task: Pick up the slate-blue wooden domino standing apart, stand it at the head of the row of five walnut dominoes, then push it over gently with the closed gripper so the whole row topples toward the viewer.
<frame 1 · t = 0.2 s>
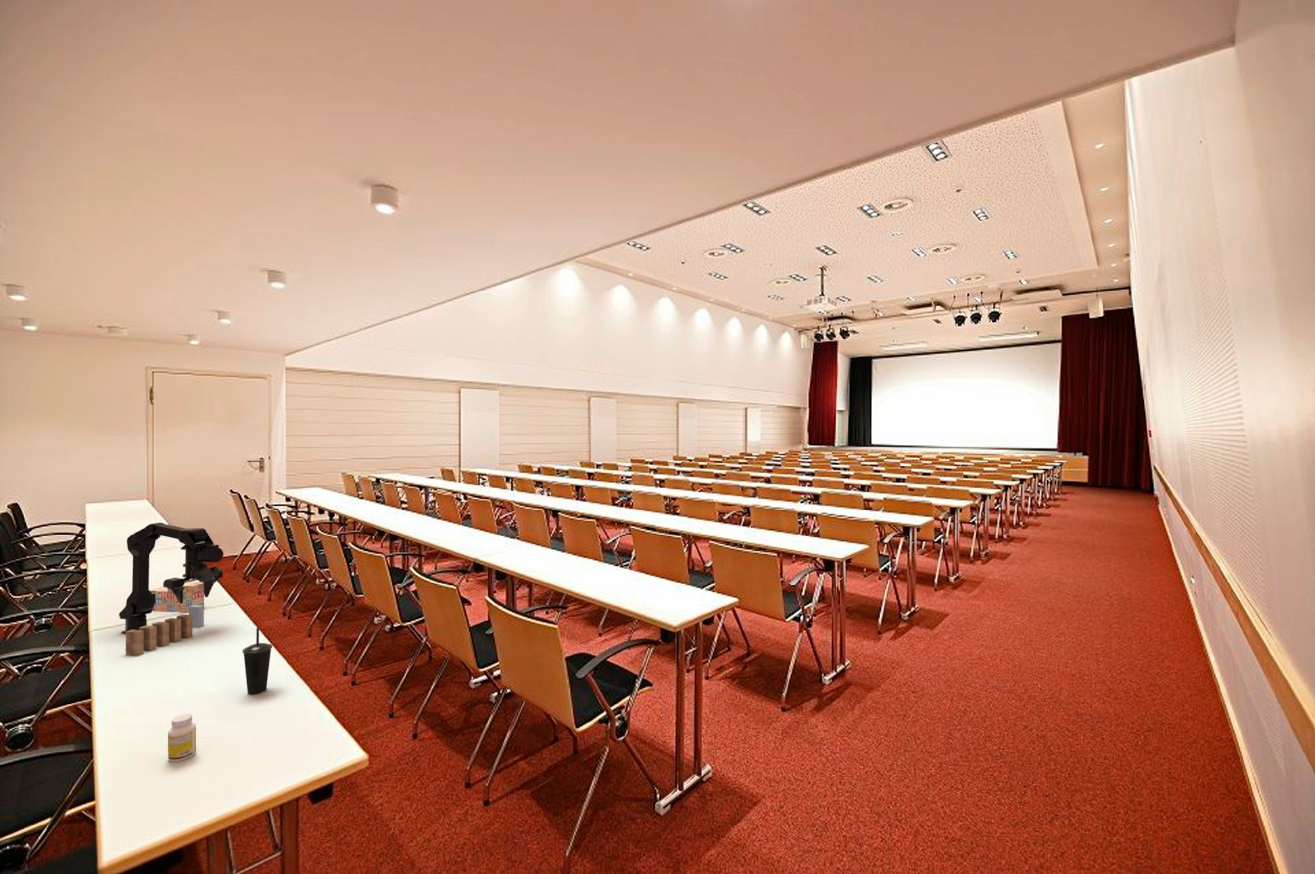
hand: (194, 600, 226), 14 cm above the table, fingers open, 9 cm apart
drinking cup: (257, 692, 179), on the table
domino 1: (184, 637, 224), on the table
supplement bottle: (182, 757, 143), on the table
domino 3: (160, 645, 215), on the table
domino 2: (172, 641, 220), on the table
domino 4: (147, 650, 211), on the table
domino 5: (134, 654, 207), on the table
stack of blocks: (176, 610, 258), on the table
slate domino: (196, 626, 236), on the table
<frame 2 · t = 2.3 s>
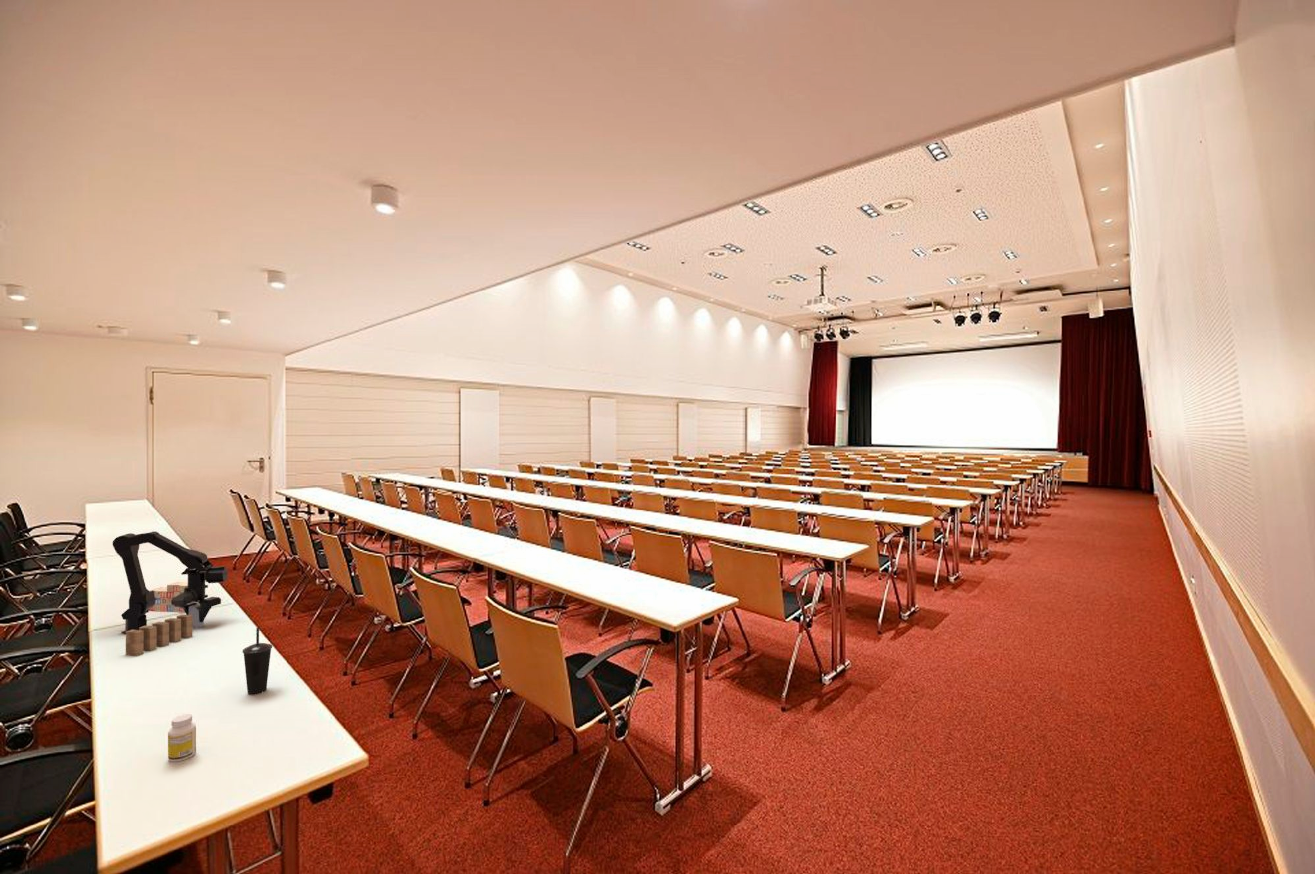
hand: (196, 621, 236), 2 cm above the table, fingers closed on slate domino, 5 cm apart
slate domino: (196, 626, 236), on the table, touching gripper
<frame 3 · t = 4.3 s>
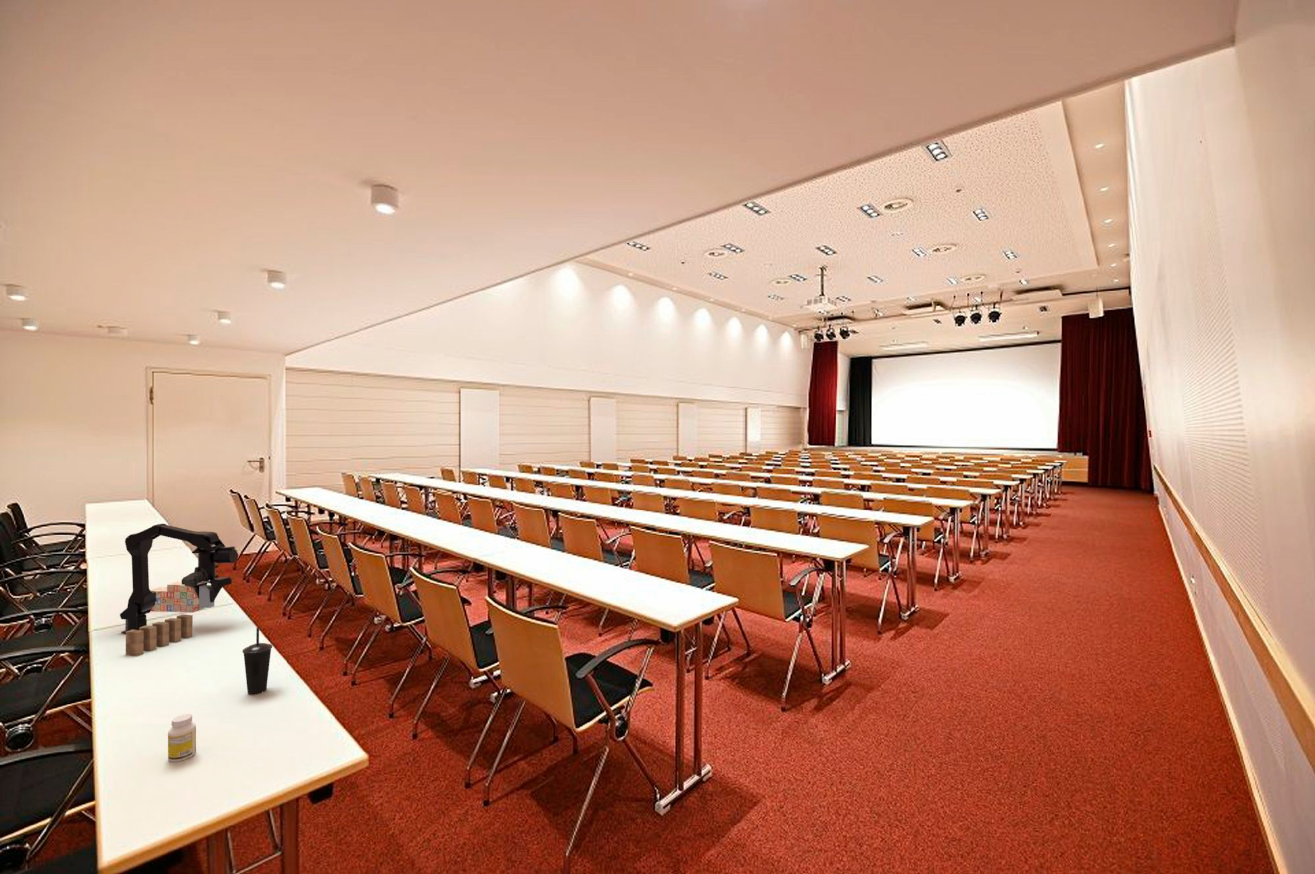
hand: (206, 601, 233), 11 cm above the table, fingers closed on slate domino, 5 cm apart
slate domino: (206, 606, 233), point 9 cm above the table, touching gripper
when the fingers open (2 cm above the table, at t = 6.2 s): slate domino stays where it is, on the table.
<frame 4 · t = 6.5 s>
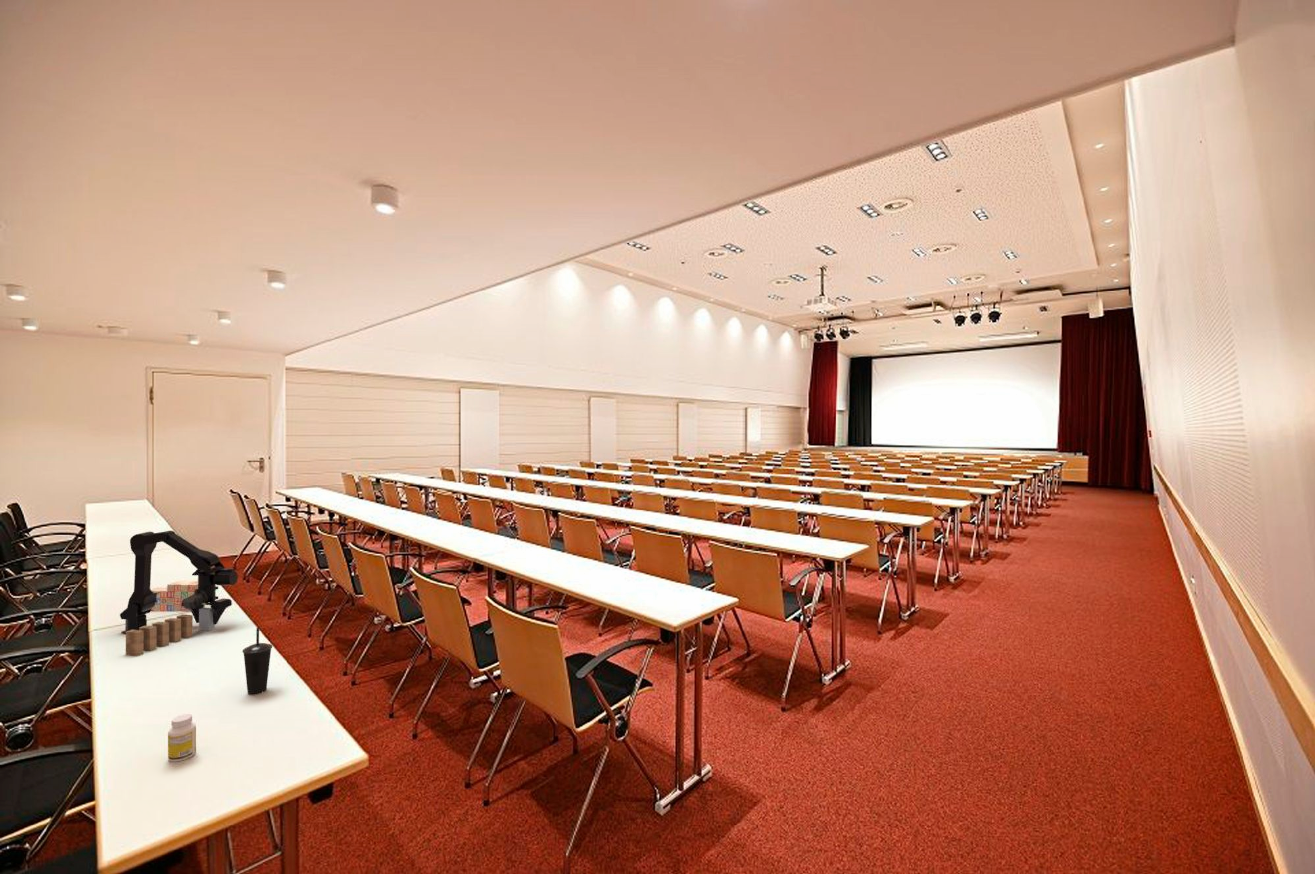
hand: (206, 623, 233), 2 cm above the table, fingers open, 8 cm apart
slate domino: (206, 629, 233), on the table
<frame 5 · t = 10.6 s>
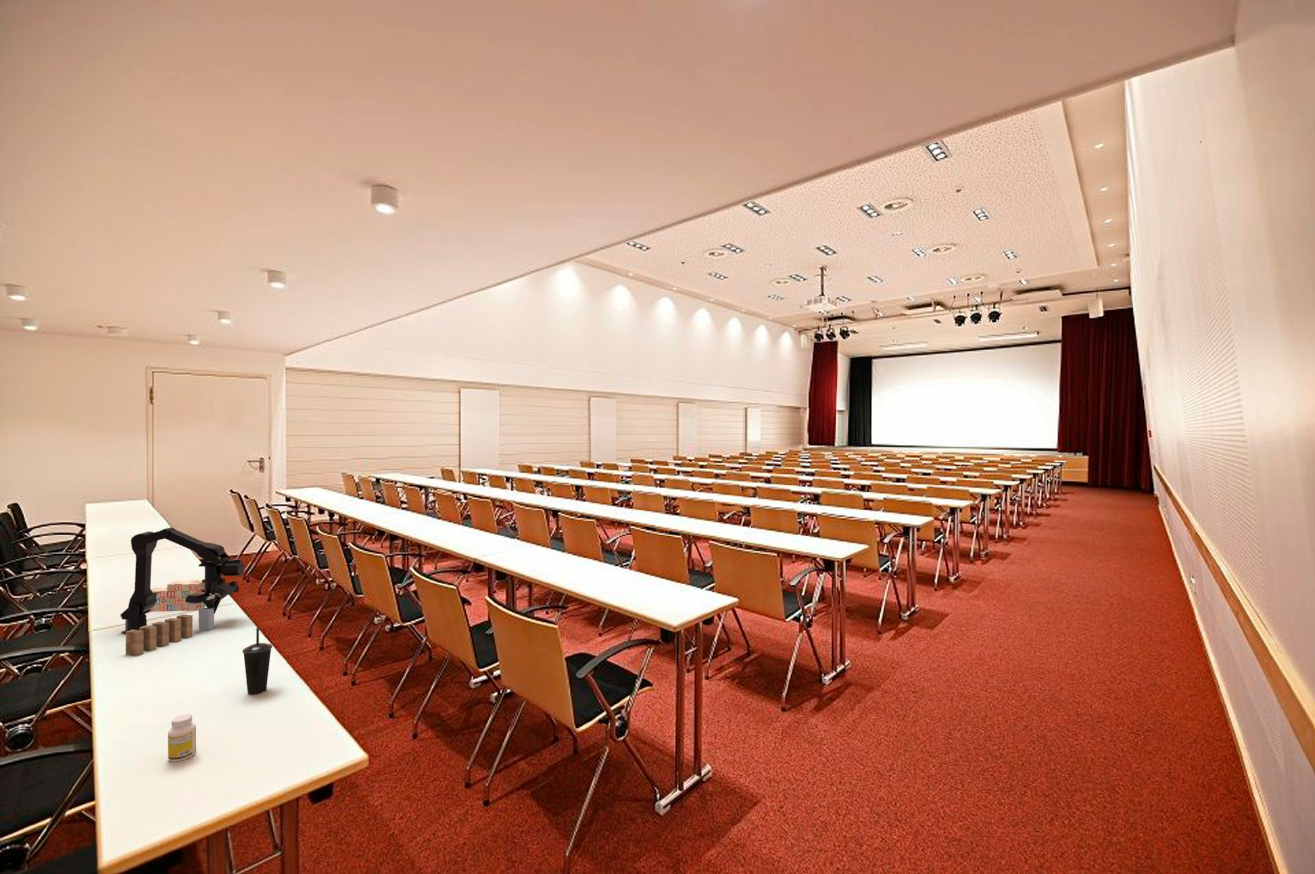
hand: (213, 614, 236), 5 cm above the table, fingers closed
slate domino: (206, 629, 233), on the table, touching gripper
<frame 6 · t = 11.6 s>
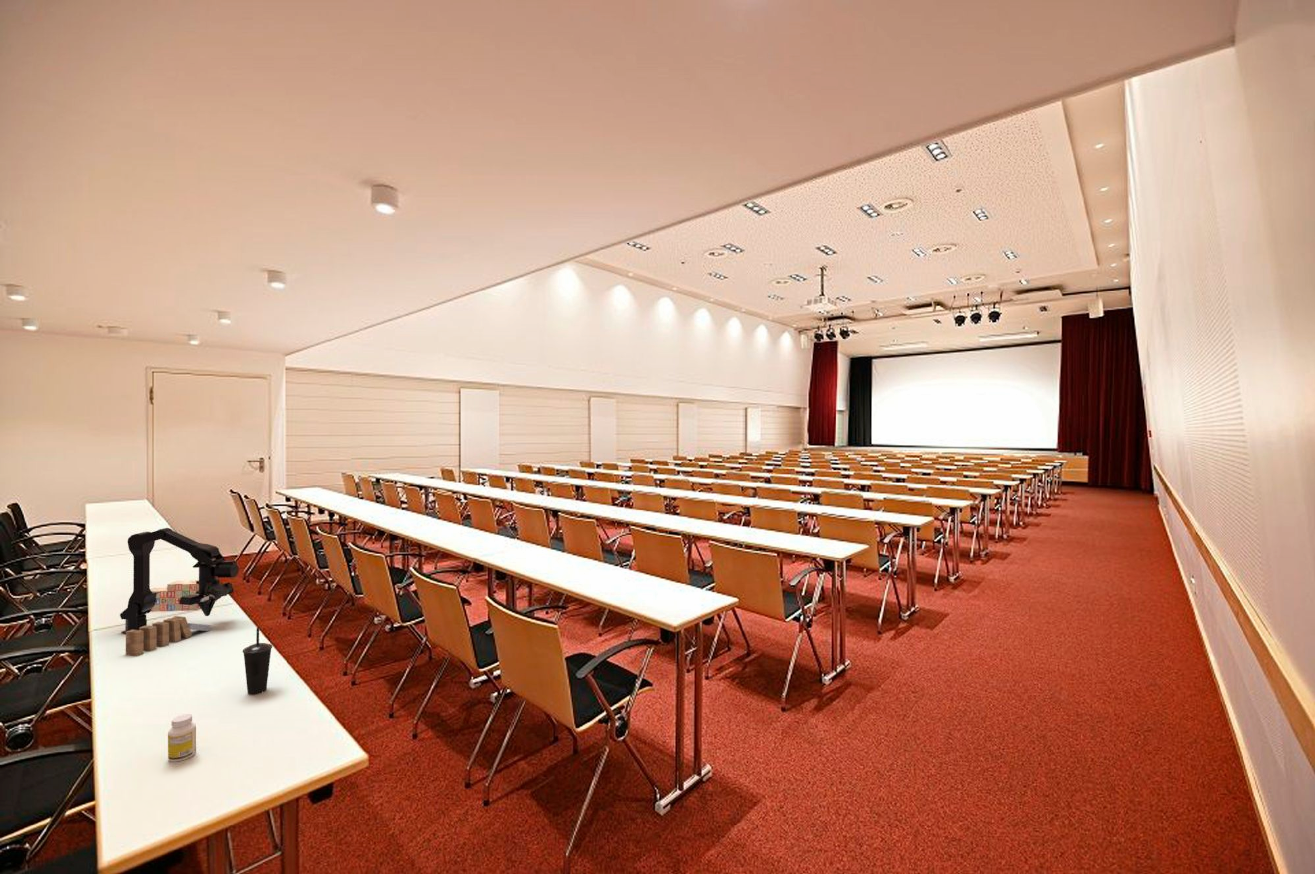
hand: (207, 615, 233), 5 cm above the table, fingers closed
domino 1: (184, 636, 224), on the table, tilted 18°, touching domino 2, slate domino
domino 2: (172, 641, 220), on the table, touching domino 1
slate domino: (204, 627, 232), point 1 cm above the table, tilted 67°, touching domino 1
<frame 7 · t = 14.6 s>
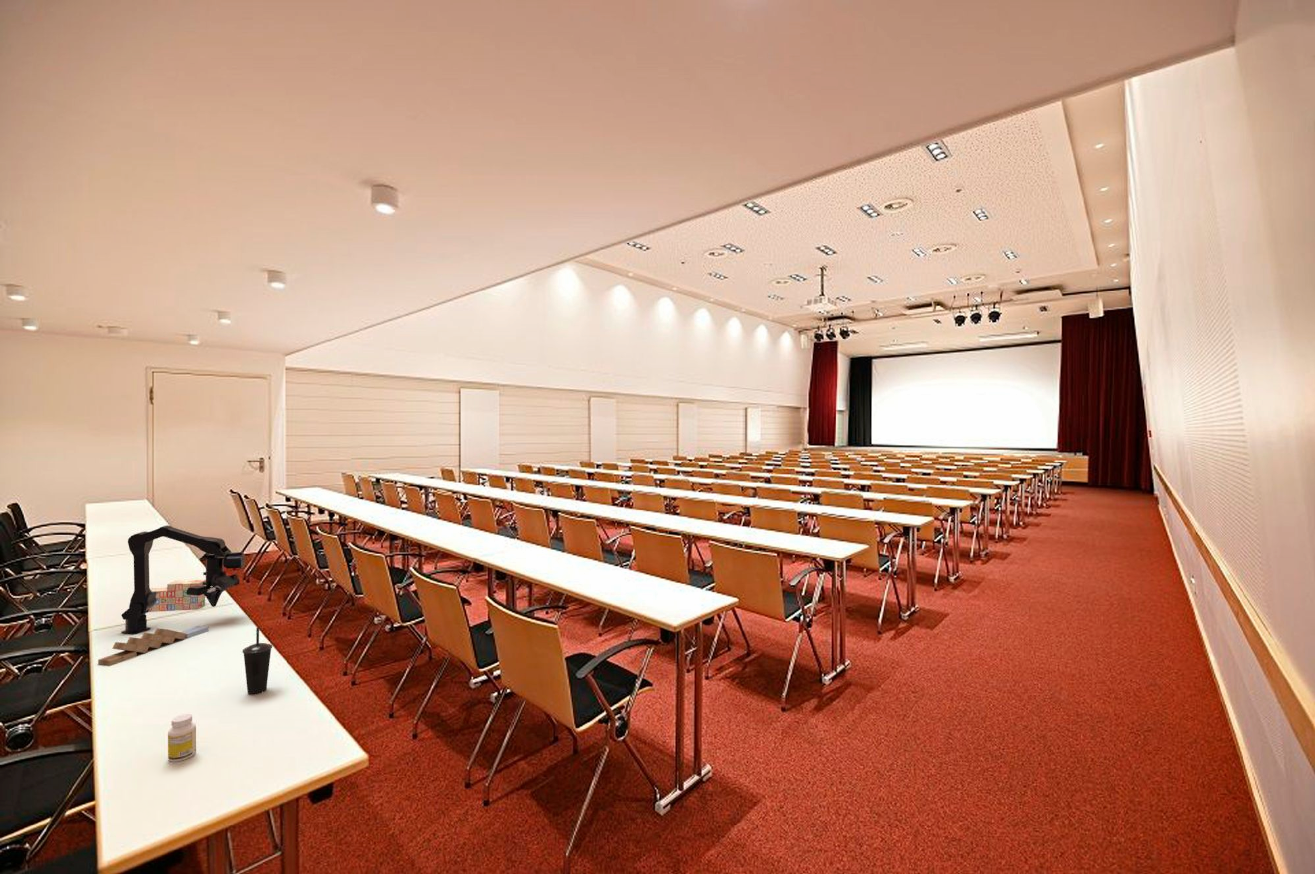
hand: (213, 606, 239), 8 cm above the table, fingers closed
domino 1: (180, 636, 223), point 1 cm above the table, tilted 60°, touching domino 2
domino 3: (155, 644, 214), point 1 cm above the table, tilted 62°, touching domino 4
domino 2: (168, 640, 218), point 1 cm above the table, tilted 61°, touching domino 1
domino 4: (142, 649, 209), point 1 cm above the table, tilted 62°, touching domino 3, domino 5
domino 5: (130, 654, 205), point 1 cm above the table, tilted 90°, touching domino 4
slate domino: (203, 629, 232), point 1 cm above the table, tilted 90°
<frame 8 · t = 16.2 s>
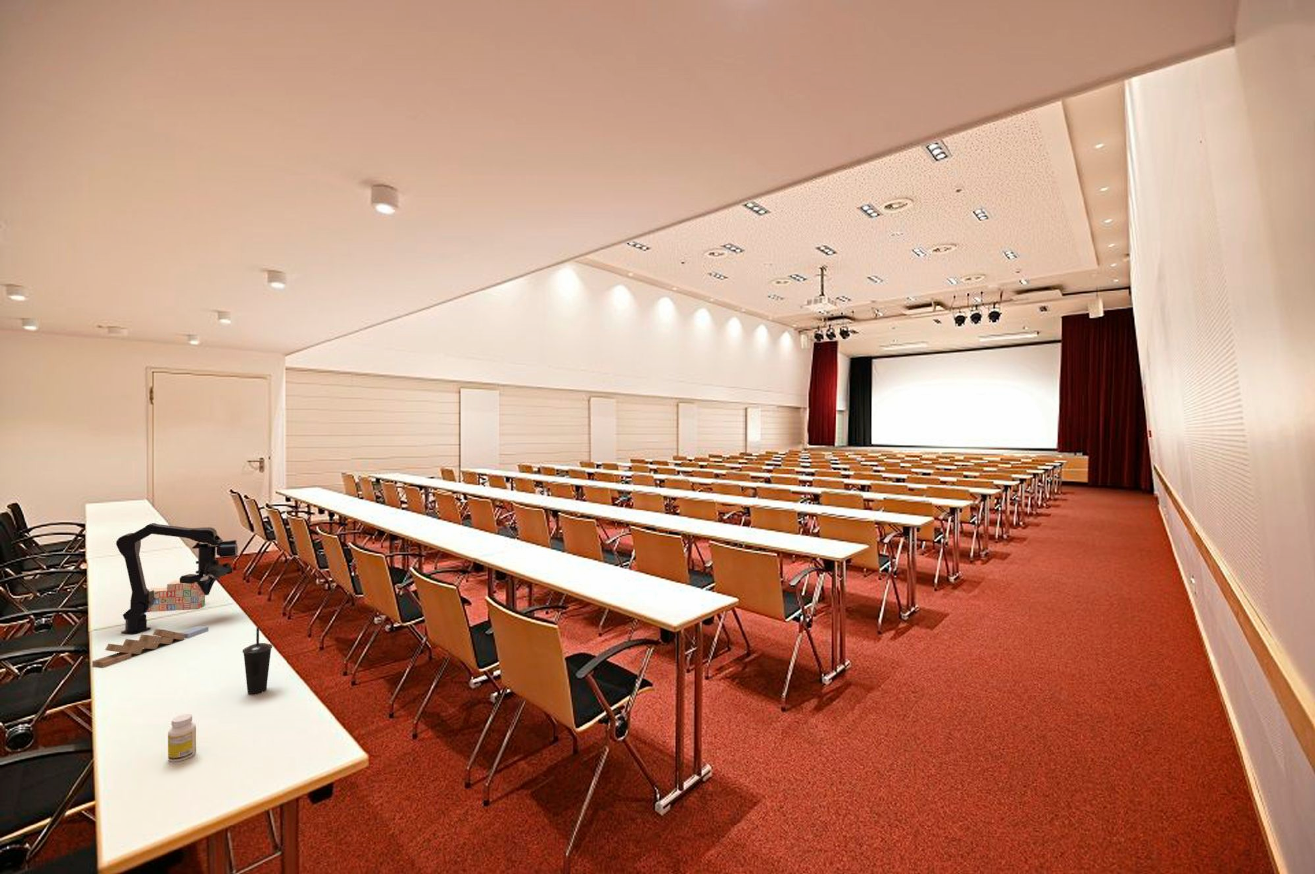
hand: (206, 595, 240), 12 cm above the table, fingers closed
domino 1: (179, 636, 222), point 1 cm above the table, tilted 61°, touching domino 2
domino 3: (152, 645, 213), point 1 cm above the table, tilted 64°, touching domino 2, domino 4
domino 2: (167, 640, 218), point 1 cm above the table, tilted 64°, touching domino 1, domino 3
domino 4: (136, 650, 208), point 1 cm above the table, tilted 64°, touching domino 3, domino 5
domino 5: (125, 655, 204), point 1 cm above the table, tilted 90°, touching domino 4
at the end: domino 5 tilted 90°; slate domino tilted 90°; slate domino inside the target area (0.7 cm from its centre), point 0.6 cm above the table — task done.
